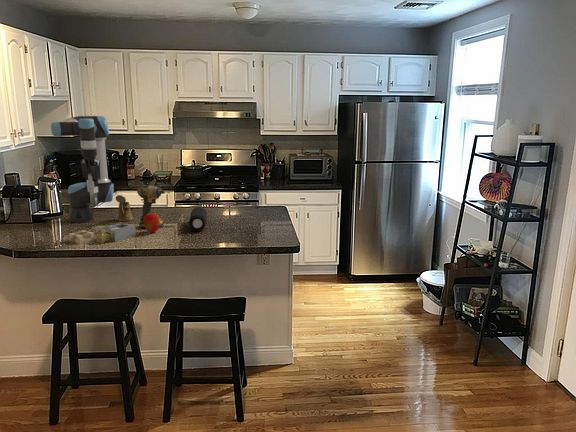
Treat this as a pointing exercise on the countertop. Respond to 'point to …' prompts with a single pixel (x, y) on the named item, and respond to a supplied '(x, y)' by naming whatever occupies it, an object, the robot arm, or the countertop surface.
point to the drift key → (103, 237)
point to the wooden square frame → (81, 236)
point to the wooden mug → (124, 209)
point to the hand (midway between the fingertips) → (93, 191)
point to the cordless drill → (149, 200)
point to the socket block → (120, 231)
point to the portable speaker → (198, 219)
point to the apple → (151, 222)
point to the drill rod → (92, 195)
